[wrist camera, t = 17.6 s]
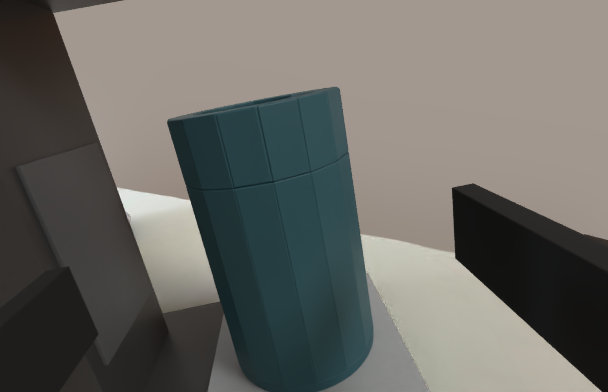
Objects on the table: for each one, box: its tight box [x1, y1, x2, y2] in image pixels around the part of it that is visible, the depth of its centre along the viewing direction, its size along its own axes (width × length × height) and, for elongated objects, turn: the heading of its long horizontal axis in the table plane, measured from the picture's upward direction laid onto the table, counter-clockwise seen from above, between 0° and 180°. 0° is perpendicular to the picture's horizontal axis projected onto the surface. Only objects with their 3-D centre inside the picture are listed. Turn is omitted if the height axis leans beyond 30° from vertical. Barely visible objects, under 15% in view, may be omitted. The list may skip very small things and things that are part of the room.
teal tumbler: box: [167, 87, 374, 392], centre depth 19 cm, size 8×8×14 cm
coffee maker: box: [0, 0, 430, 392], centre depth 16 cm, size 13×19×33 cm
